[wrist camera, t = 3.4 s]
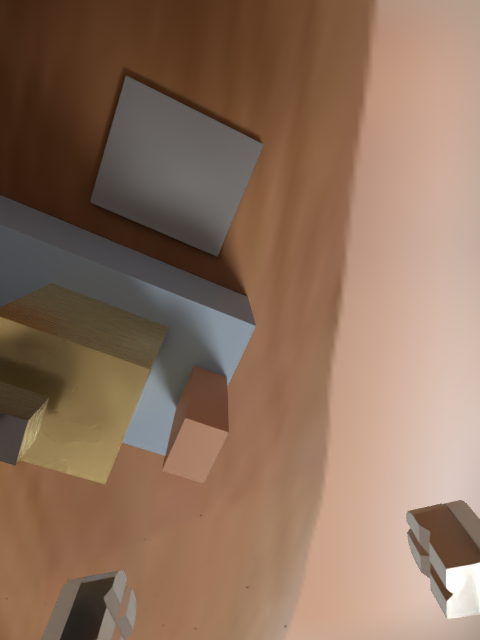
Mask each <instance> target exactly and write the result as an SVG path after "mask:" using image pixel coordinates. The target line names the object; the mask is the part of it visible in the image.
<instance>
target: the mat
mask: <svg viewBox="0 0 480 640" xmlns="http://www.w3.org/2000/svg"><path fill="white" fill-rule="evenodd" d="M263 145H264V144H262V143H260V142H258V141H256V140H254V139H252V138H250V137H248V136H246V135H244V134H242V133H240V132H238V131H236V130H234V129H232V128H230V127H228V126H226V125H224V124H222V123H220V122H218V121H216V120H214V119H212V118H210V117H208V116H206V115H204V114H202V113H200V112H198V111H196V110H194V109H192V108H190V107H188V106H186V105H184V104H182V103H180V102H178V101H176V100H174V99H172V98H170V97H168V96H166V95H164V94H162V93H160V92H158V91H156V90H154V89H152V88H150V87H148V86H146V85H144V84H142V83H140V82H138V81H136V80H134V79H132V78H130V77H128V76H126V77H125V81H124V84H123V88H122V91H121V95H120V98H119V102H118V105H117V109H116V112H115V116H114V119H113V123H112V126H111V130H110V133H109V137H108V140H107V144H106V147H105V151H104V154H103V158H102V161H101V165H100V168H99V172H98V175H97V179H96V182H95V186H94V189H93V193H92V197H91V200H90V203H93V204H95V205H97V206H100V207H102V208H104V209H107V210H109V211H111V212H114V213H116V214H118V215H121V216H123V217H125V218H128V219H130V220H132V221H135V222H137V223H139V224H142V225H144V226H146V227H149V228H151V229H153V230H156V231H158V232H161V233H163V234H165V235H168V236H170V237H172V238H175V239H177V240H179V241H182V242H184V243H186V244H189V245H191V246H193V247H196V248H198V249H200V250H203V251H205V252H207V253H210V254H212V255H214V256H217V257H218V255H219V252H220V250H221V247H222V245H223V242H224V240H225V238H226V235H227V233H228V230H229V228H230V225H231V223H232V221H233V218H234V216H235V213H236V211H237V208H238V206H239V204H240V201H241V199H242V196H243V194H244V191H245V189H246V187H247V184H248V182H249V179H250V177H251V174H252V172H253V170H254V167H255V165H256V162H257V160H258V157H259V155H260V152H261V150H262V148H263Z"/></svg>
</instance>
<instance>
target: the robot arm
mask: <svg viewBox="0 0 480 640" xmlns="http://www.w3.org/2000/svg"><path fill="white" fill-rule="evenodd" d="M406 516H407V517H406V518H407V522H408V524H409V526H410V530H409V531H408V532H407V534H408V542H409V546H410V549H411V552H412V555H413V557H414V559H415V561H416V563H417V565H418V567H419V569H420V571H421V572H422V573H423V574H425V575H426V576H427V577H429V578H430V582H431V591H432V593H433V595H434V597H435V598H436V600H437V602H438V604H439V606H440V608H441V609H442V611H443V613H444V614H445V617H446V618H447V619H451V618H457V617H464V616H470V615H476V614H480V519H479V518H478V517H477V516H476V514H475V513H474V512H473V511H472V509H471V508H470V507H469V506H468V505H467V503H465V502H464V501H462V500H459V501H455V502H450V503H446V504H437V505H433V506H428V507H424V508H420V509H415V510H411V511H408V512H407V514H406ZM126 580H127V577H126V575H125V573H124V571H123V570H120V571H115V572H109V573H104V574H98V575H93V576H86V577H81V578H76V579H71V580H68V581H67V582H66V584H65V585H64V586H63V588H62V590H61V593H60V595H59V598H58V600H57V602H56V605H55V607H54V609H53V612H52V614H51V617H50V619H49V621H48V624H47V626H46V629H45V631H44V633H43V636H42V638H41V640H127V638H128V637H129V635H130V634H131V632H132V631H133V629H134V623H135V618H136V599H135V594H134V592H133V590H132V588H130V587H128V586H127V585H125V584H126Z"/></svg>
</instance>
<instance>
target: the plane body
mask: <svg viewBox="0 0 480 640" xmlns="http://www.w3.org/2000/svg"><path fill="white" fill-rule="evenodd" d="M51 283H53V284H56V285H59V286H61V287H64V288H67V289H69V290H72V291H75V292H77V293H80V294H83V295H85V296H88V297H90V298H93V299H96V300H98V301H101V302H104V303H106V304H109V305H112V306H114V307H117V308H120V309H122V310H125V311H128V312H130V313H133V314H135V315H138V316H141V317H143V318H146V319H149V320H151V321H154V322H157V323H159V324H162V325H165V326H167V327H168V330H167V332H166V335H165V337H164V340H163V343H162V345H161V348H160V350H159V353H158V355H157V358H156V360H155V363H154V365H153V368H152V371H151V373H150V376H149V378H148V381H147V383H146V386H145V388H144V391H143V394H142V396H141V399H140V401H139V404H138V406H137V409H136V411H135V414H134V416H133V419H132V421H131V424H130V426H129V428H128V431H127V433H126V436H125V438H124V440H123V443H125V444H129V445H132V446H135V447H138V448H142V449H145V450H148V451H151V452H155V453H158V454H161V455H164V456H165V459H164V464H163V468H162V471H164V472H167V473H171V474H174V475H177V476H181V477H184V478H188V479H191V480H194V481H198V482H201V483H204V481H205V479H206V477H207V475H208V473H209V471H210V469H211V467H212V465H213V463H214V461H215V459H216V457H217V455H218V453H219V451H220V449H221V447H222V445H223V443H224V441H225V439H226V437H227V435H228V433H229V428H228V394H227V386H228V384H229V382H230V380H231V378H232V375H233V373H234V371H235V369H236V367H237V365H238V363H239V361H240V359H241V356H242V354H243V352H244V350H245V348H246V346H247V344H248V342H249V340H250V338H251V335H252V333H253V331H254V329H255V327H256V325H255V321H254V317H253V314H252V310H251V307H250V303H249V300H248V297H247V296H244V295H242V294H240V293H237V292H235V291H232V290H230V289H227V288H225V287H223V286H220V285H218V284H215V283H213V282H210V281H208V280H206V279H203V278H201V277H198V276H196V275H193V274H191V273H189V272H186V271H184V270H181V269H179V268H176V267H174V266H172V265H169V264H167V263H164V262H162V261H159V260H157V259H155V258H152V257H150V256H147V255H145V254H142V253H140V252H138V251H135V250H133V249H130V248H128V247H125V246H123V245H121V244H118V243H116V242H113V241H111V240H108V239H106V238H104V237H101V236H99V235H96V234H94V233H91V232H89V231H87V230H84V229H82V228H79V227H77V226H74V225H72V224H70V223H67V222H65V221H62V220H60V219H58V218H55V217H53V216H50V215H48V214H45V213H43V212H41V211H38V210H36V209H33V208H31V207H28V206H26V205H24V204H21V203H19V202H16V201H14V200H11V199H9V198H7V197H4V196H2V195H0V307H1V306H3V305H5V304H7V303H9V302H12V301H14V300H16V299H18V298H20V297H23V296H25V295H27V294H29V293H31V292H33V291H36V290H38V289H40V288H42V287H44V286H47V285H49V284H51Z"/></svg>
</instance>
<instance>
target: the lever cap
mask: <svg viewBox="0 0 480 640" xmlns="http://www.w3.org/2000/svg"><path fill="white" fill-rule="evenodd" d="M167 330H168V327H167V326H165V325H162V324H159V323H157V322H154V321H151V320H149V319H146V318H143V317H141V316H138V315H135V314H133V313H130V312H128V311H125V310H122V309H120V308H117V307H114V306H112V305H109V304H106V303H104V302H101V301H98V300H96V299H93V298H90V297H88V296H85V295H83V294H80V293H77V292H75V291H72V290H69V289H67V288H64V287H61V286H59V285H56V284H53V283H51V284H49V285H47V286H44V287H42V288H40V289H38V290H36V291H33V292H31V293H29V294H27V295H25V296H23V297H20V298H18V299H16V300H14V301H12V302H9V303H7V304H5V305H3V306H1V307H0V382H3V383H7V384H10V385H13V386H16V387H19V388H22V389H25V390H29V391H32V392H35V393H38V394H41V395H44V396H47V397H49V400H48V404H47V407H46V410H45V414H44V417H43V420H42V424H41V427H40V430H39V434H38V437H37V439H36V440H35V441H34V443H33V444H32V445H31V446H30V448H29V449H28V450H27V451H26V453H25V454H24V455H23V456H22V458H21V459H20V460H21V461H25V462H28V463H32V464H35V465H39V466H42V467H46V468H49V469H53V470H56V471H60V472H64V473H67V474H71V475H74V476H78V477H81V478H85V479H88V480H92V481H95V482H99V483H102V484H105V483H106V481H107V479H108V476H109V474H110V471H111V469H112V467H113V464H114V462H115V460H116V457H117V455H118V452H119V450H120V448H121V445H122V443H123V440H124V438H125V436H126V433H127V431H128V428H129V426H130V424H131V421H132V419H133V416H134V414H135V411H136V409H137V406H138V404H139V401H140V399H141V396H142V394H143V391H144V388H145V386H146V383H147V381H148V378H149V376H150V373H151V371H152V368H153V365H154V363H155V360H156V358H157V355H158V353H159V350H160V348H161V345H162V343H163V340H164V337H165V335H166V332H167Z"/></svg>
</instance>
